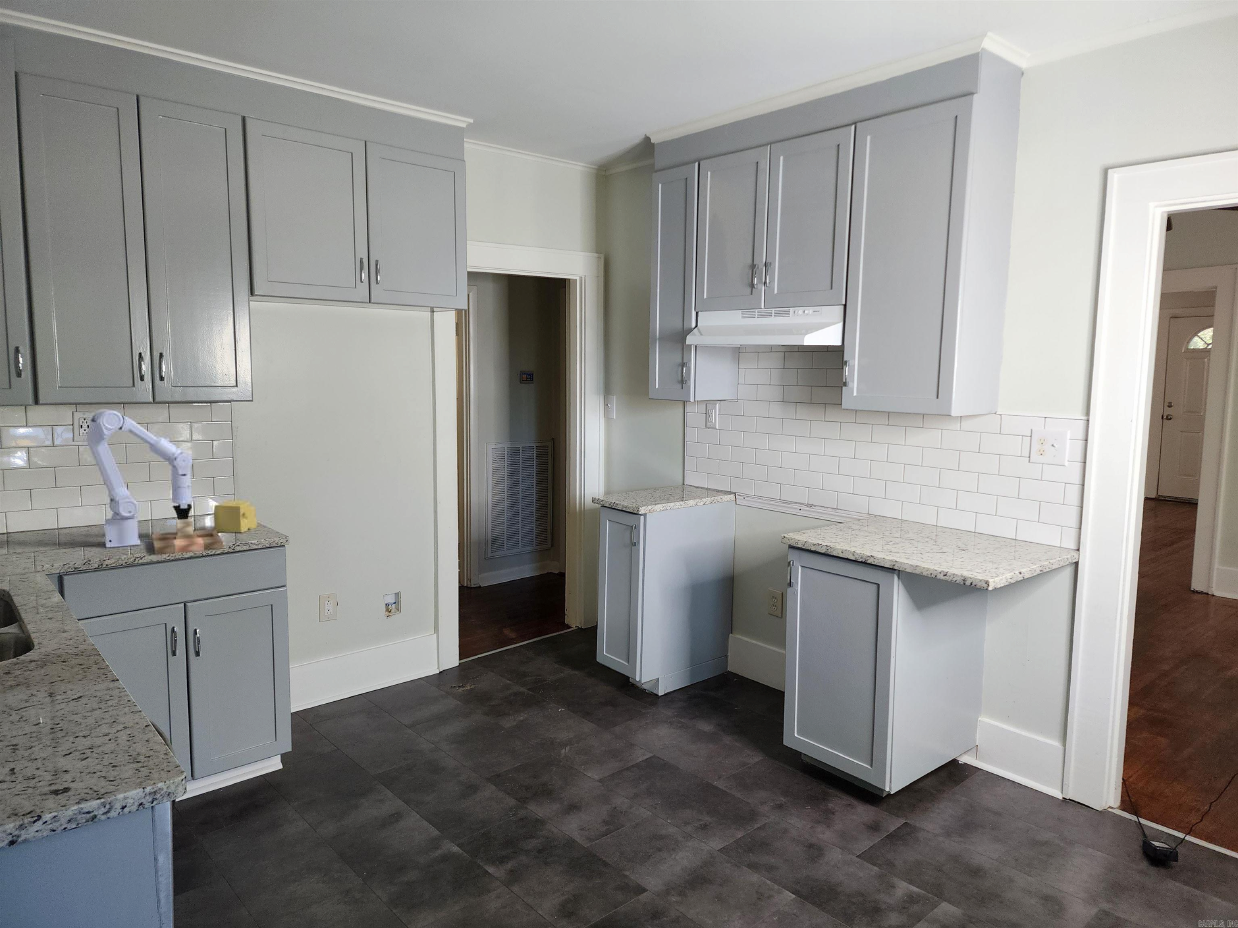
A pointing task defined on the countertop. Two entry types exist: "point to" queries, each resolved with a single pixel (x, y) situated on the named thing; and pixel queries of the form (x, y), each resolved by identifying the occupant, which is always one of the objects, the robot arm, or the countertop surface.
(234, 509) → the cheese
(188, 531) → the block
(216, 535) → the trap deck
